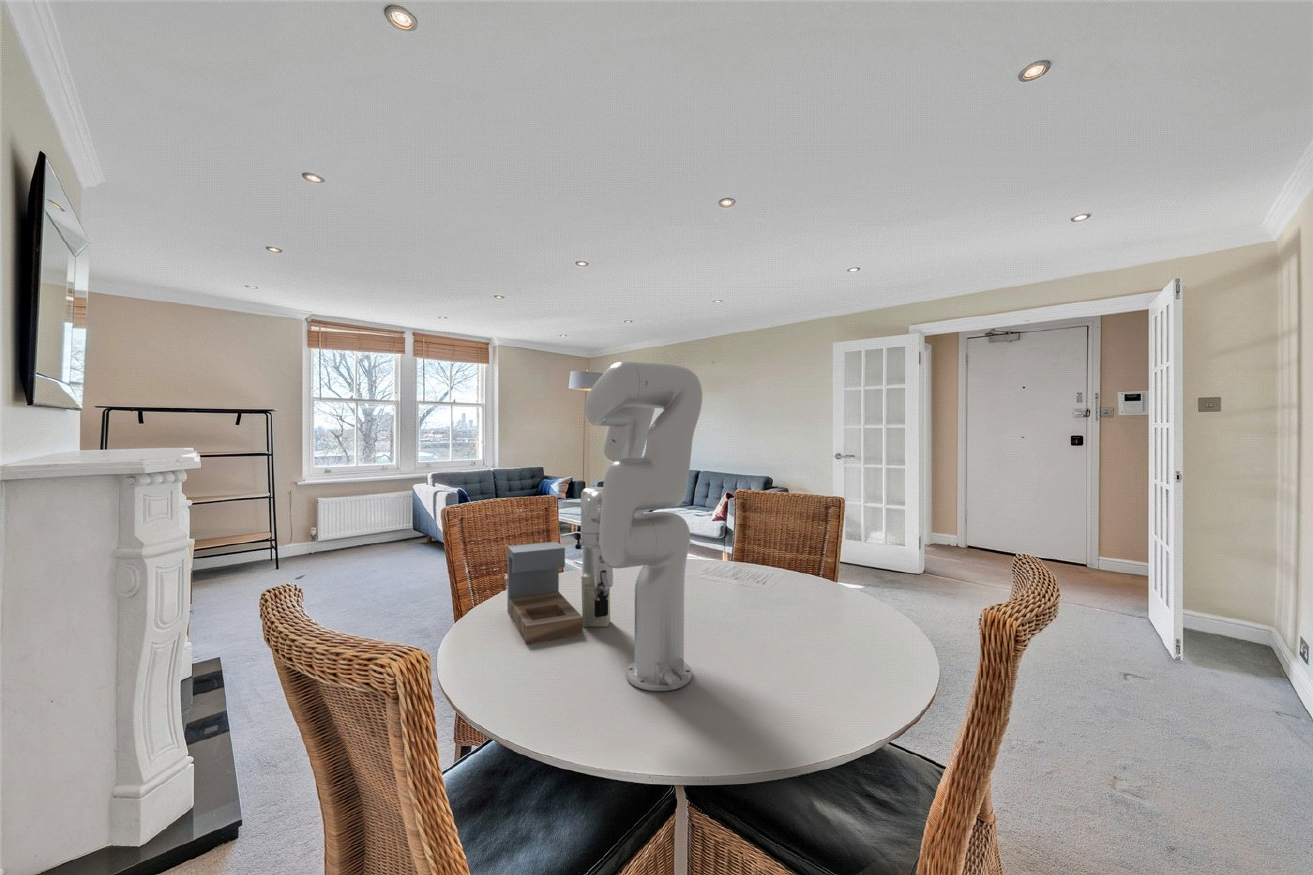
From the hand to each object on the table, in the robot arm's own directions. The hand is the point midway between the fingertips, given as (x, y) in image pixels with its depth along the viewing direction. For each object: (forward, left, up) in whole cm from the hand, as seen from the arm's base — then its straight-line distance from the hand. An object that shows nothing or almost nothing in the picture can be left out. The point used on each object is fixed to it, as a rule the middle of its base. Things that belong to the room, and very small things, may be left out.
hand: (596, 610), depth 129 cm
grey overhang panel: (+14, +12, -3) cm, 19 cm away
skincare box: (0, 0, -3) cm, 3 cm away
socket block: (+5, +11, -3) cm, 13 cm away
